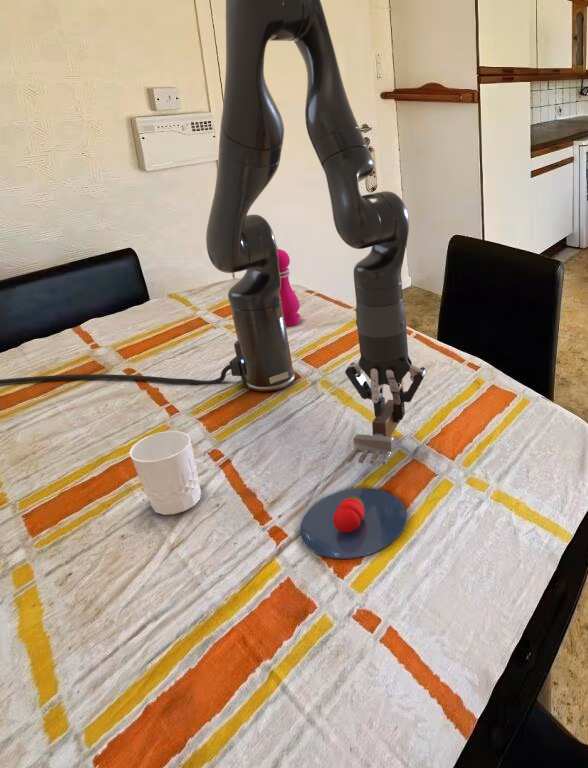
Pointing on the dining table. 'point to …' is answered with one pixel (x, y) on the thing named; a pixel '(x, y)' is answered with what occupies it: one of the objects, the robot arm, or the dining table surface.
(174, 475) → the white cup
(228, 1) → the robot arm
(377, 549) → the plate
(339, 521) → the strawberry
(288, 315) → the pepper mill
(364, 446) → the fork
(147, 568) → the dining table surface
